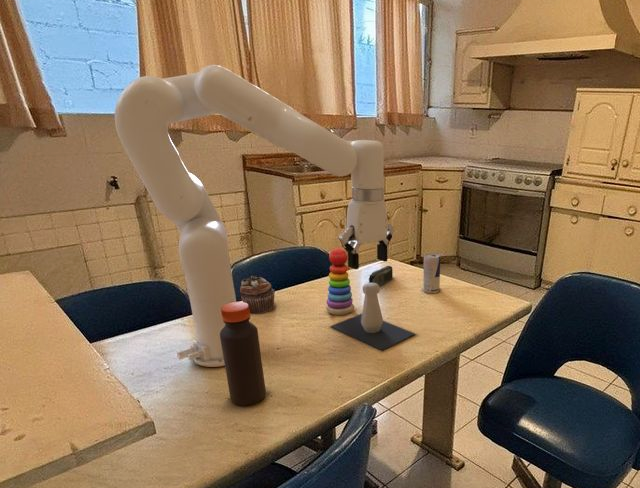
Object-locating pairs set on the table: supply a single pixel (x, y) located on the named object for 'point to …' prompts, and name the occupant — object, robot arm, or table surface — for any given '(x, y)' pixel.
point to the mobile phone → (381, 275)
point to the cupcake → (257, 294)
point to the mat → (380, 339)
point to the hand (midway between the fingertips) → (368, 264)
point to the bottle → (242, 355)
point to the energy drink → (431, 273)
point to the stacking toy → (339, 285)
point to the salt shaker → (371, 309)
